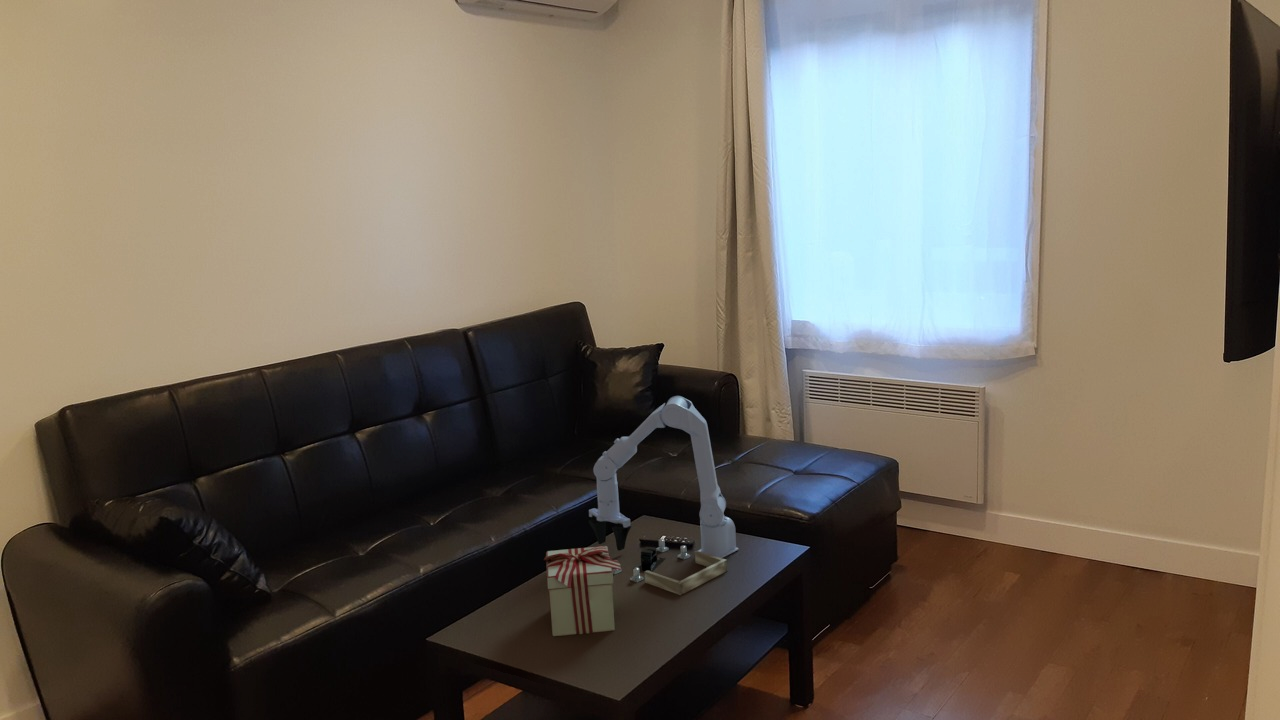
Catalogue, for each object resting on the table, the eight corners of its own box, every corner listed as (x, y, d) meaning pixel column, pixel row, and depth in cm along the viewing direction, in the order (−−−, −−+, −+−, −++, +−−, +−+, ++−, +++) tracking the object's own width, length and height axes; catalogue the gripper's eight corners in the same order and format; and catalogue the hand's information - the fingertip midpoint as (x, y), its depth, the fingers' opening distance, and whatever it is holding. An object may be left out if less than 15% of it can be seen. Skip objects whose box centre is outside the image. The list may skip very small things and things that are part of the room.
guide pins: (662, 547, 261) (661, 537, 261) (690, 556, 254) (689, 546, 254) (608, 572, 247) (607, 561, 247) (636, 582, 240) (636, 571, 240)
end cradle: (692, 559, 252) (691, 549, 252) (727, 570, 244) (726, 559, 243) (645, 582, 240) (644, 571, 239) (680, 595, 231) (679, 583, 231)
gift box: (553, 646, 210) (547, 573, 207) (545, 610, 228) (539, 542, 224) (629, 634, 213) (624, 563, 210) (615, 600, 231) (610, 533, 227)
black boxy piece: (652, 577, 244) (651, 560, 243) (626, 574, 247) (625, 557, 246) (670, 558, 255) (669, 542, 254) (645, 555, 258) (644, 539, 257)
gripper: (579, 498, 260) (582, 544, 263) (616, 508, 250) (619, 556, 253) (598, 491, 265) (601, 536, 268) (634, 501, 255) (637, 548, 258)
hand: (611, 546), depth 261 cm, fingers open, 7 cm apart
